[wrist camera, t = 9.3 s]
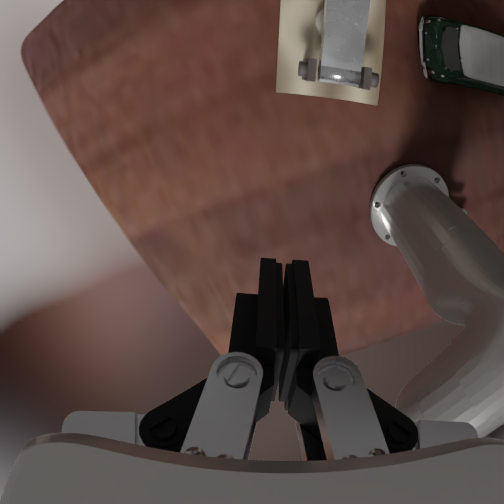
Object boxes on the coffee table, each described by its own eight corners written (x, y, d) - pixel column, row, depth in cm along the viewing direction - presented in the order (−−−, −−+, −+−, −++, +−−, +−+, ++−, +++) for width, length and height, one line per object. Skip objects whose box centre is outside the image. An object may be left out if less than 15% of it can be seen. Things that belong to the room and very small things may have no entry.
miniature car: (512, 98, 28) (546, 109, 22) (415, 79, 30) (446, 84, 24) (510, 42, 24) (546, 46, 17) (410, 14, 25) (440, 6, 19)
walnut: (353, 12, 25) (364, 5, 22) (351, 45, 28) (362, 43, 24) (315, 5, 25) (321, -3, 22) (313, 39, 28) (319, 35, 24)
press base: (381, -49, 20) (400, -65, 15) (373, 104, 33) (393, 112, 27) (283, -66, 21) (285, -89, 15) (275, 91, 33) (276, 95, 27)
